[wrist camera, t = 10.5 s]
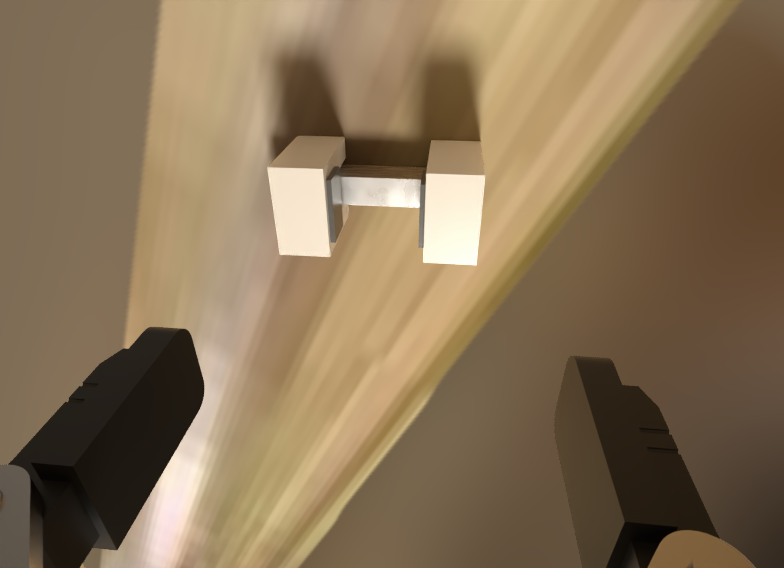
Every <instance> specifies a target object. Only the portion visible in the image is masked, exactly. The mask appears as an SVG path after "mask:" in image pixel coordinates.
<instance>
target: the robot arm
mask: <svg viewBox="0 0 784 568" xmlns="http://www.w3.org/2000/svg"><path fill="white" fill-rule="evenodd" d="M203 397H204V380H203V377H202V373H201V369H200V366H199V362H198V358H197V355H196V351H195V347H194V344H193V340H192V337H191V334H190V333H189V331H188V330H186V329H178V328H163V327H149V328H147V329H146V330H145V331H144V332H143V333H142V334H141V335H140V336H139V338H138V339H137V340H136V341H135V342H134V343H133V345H132V346H131V347H130V348H129V349H122V350H120V351H119V352H117V353H116V354H114V355H113V356H111V357H110V358H108V359H107V360H105V361H104V362H102V363H100V364H99V365H98V366H97V367H96V369H95V370H94V371H93V372H92V373H91V374H90V375H89V376H88V378H86V380H85V381H84V382H83V386H79V387H78V389H77V390H76V391H75V392H74V393H73V394H72V395H71V396H70V397H69V401H68V402H65V403H64V404H63V405H62V406H61V407H60V408H59V410H57V412H56V413H55V414H54V415H53V416H52V417H51V418H50V419H49V420H48V422H47V423H46V424H45V425H44V426H43V427H42V428H41V429H40V430H39V432H38V433H37V434H36V435H35V436H34V437H33V438H32V439H31V440H30V441H29V443H28V444H27V445H26V446H25V447H24V448H23V449H22V450H21V452H19V454H18V455H17V456H16V457H15V458H14V459H13V460H12V461H11V462H10V463H9V464H8V465H0V568H85V567H84V565H83V562H84V560H85V558H86V557H87V555H88V554H89V552H90V551H91V549H92V548H100V549H109V550H118V548H119V546H120V545H121V543H122V541H123V539H124V538H125V536H126V534H127V533H128V531H129V529H130V528H131V526H132V524H133V522H134V521H135V519H136V517H137V516H138V514H139V512H140V510H141V509H142V507H143V505H144V504H145V502H146V500H147V498H148V497H149V495H150V493H151V492H152V490H153V488H154V487H155V485H156V483H157V481H158V480H159V478H160V476H161V475H162V473H163V471H164V469H165V468H166V466H167V464H168V463H169V461H170V459H171V457H172V456H173V454H174V452H175V451H176V449H177V447H178V446H179V444H180V442H181V440H182V439H183V437H184V435H185V434H186V432H187V430H188V428H189V427H190V425H191V423H192V422H193V420H194V418H195V416H196V415H197V413H198V411H199V409H200V407H201V405H202V401H203ZM555 439H556V444H557V449H558V453H559V458H560V463H561V468H562V473H563V477H564V482H565V487H566V492H567V496H568V501H569V506H570V511H571V515H572V520H573V525H574V530H575V535H576V539H577V544H578V549H579V554H580V558H581V563H582V567H583V568H755V567H754V565H753V564H752V563H751V562H750V561H749V560H748V559H747V558H746V557H745V556H744V555H743V554H741V553H740V552H739V551H738V550H736V549H735V548H734V547H732V546H731V545H729V544H728V543H726V542H724V541H723V540H721V539H720V538H719V536H718V534H717V532H716V531H715V528H714V526H713V524H712V522H711V520H710V518H709V515H708V513H707V511H706V509H705V507H704V504H703V502H702V500H701V498H700V496H699V494H698V492H697V489H696V487H695V485H694V483H693V481H692V479H691V476H690V474H689V472H688V470H687V468H686V465H685V463H684V461H683V459H682V457H681V455H679V454H678V448H677V446H676V444H675V442H674V439H673V438H672V435H669V429H668V426H667V424H666V422H665V420H664V418H663V416H662V413H661V411H660V409H659V407H658V406H657V405H656V404H655V403H654V402H653V401H652V400H651V399H650V398H649V397H648V396H647V395H646V394H645V393H644V392H643V391H642V390H641V389H640V388H639V387H638V386H625V385H622V383H621V381H620V379H619V376H618V373H617V371H616V369H615V366H614V363H613V362H612V360H611V359H609V358H598V357H597V358H596V357H581V356H570V357H569V359H568V361H567V364H566V369H565V373H564V377H563V382H562V385H561V390H560V394H559V398H558V402H557V406H556V411H555Z"/></svg>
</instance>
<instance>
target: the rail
mask: <svg viewBox="0 0 784 568" xmlns="http://www.w3.org/2000/svg"><path fill="white" fill-rule="evenodd" d="M423 170H427V167H406V166H375V165H344V164H342V165H341V167H340V183H341V199H342V205H366V206H391V207H416V208H420V184H421V178H422V172H423Z"/></svg>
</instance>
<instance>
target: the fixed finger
mask: <svg viewBox="0 0 784 568" xmlns="http://www.w3.org/2000/svg"><path fill="white" fill-rule="evenodd" d="M484 183H485V170H484V163H483V155H482V148H481V141H449V140H431V145H430V151H429V158H428V164H427V170H423V172H422V178H421V184H420V216H419V248H424V252H423V263H443V264H462V265H477V254H478V244H479V234H480V224H481V214H482V204H483V194H484Z"/></svg>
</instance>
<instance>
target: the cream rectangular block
mask: <svg viewBox="0 0 784 568" xmlns="http://www.w3.org/2000/svg"><path fill="white" fill-rule="evenodd" d="M345 159H346V152H345V137H334V136H297V137H296V138H295V139H294V140H293V141H292V142H291V143H290V144H289V145H288V146H287V147H286V148H285V149H284V150H283V151H282V152H281V154H280V155H279V156H278V157H277V158H276V159H275V160H274V161H273V162H272V163H271V164H270V165H269V166H268V167H267V169H268V176H269V183H270V190H271V197H272V204H273V211H274V218H275V225H276V232H277V238H278V245H279V252H280V255H300V256H321V257H330V256H331V254H332V252H333V249H334V247H335V245H336V243H337V240H338V238H339V236H340V234H341V231H342V229H343V227H344V225H345V222H346V220H347V218H348V215H349V205H342V199H341V183H340V167H341V165H342V164H343V162H344V160H345Z"/></svg>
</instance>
